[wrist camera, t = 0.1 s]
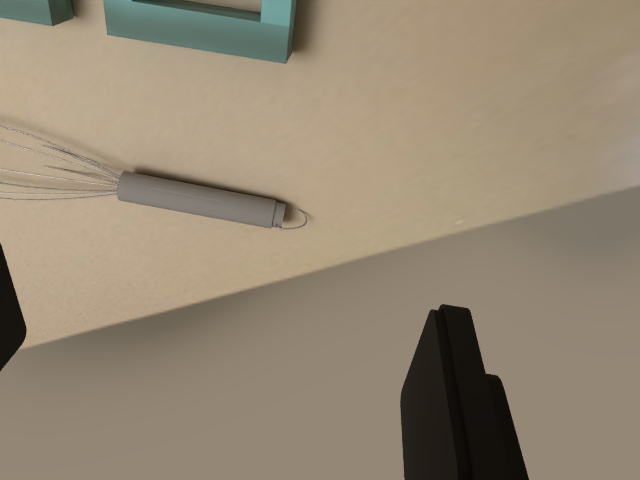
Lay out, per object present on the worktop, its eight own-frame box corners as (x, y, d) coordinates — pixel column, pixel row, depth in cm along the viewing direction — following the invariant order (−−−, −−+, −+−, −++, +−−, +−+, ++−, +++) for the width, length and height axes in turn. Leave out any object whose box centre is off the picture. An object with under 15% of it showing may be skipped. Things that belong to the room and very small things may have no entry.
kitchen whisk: (302, 239, 48) (293, 279, 42) (-41, 161, 46) (-93, 193, 41) (315, 185, 44) (306, 222, 39) (-56, 100, 43) (-116, 126, 38)
